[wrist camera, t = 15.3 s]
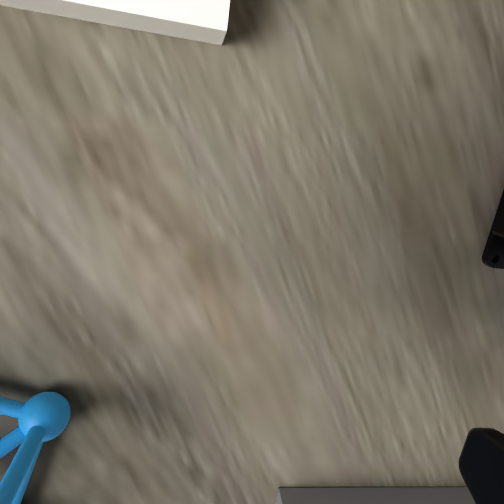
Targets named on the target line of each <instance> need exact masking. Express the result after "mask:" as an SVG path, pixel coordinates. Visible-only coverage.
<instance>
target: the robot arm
mask: <svg viewBox="0 0 504 504" xmlns="http://www.w3.org/2000/svg"><path fill="white" fill-rule="evenodd" d="M492 256H494V258H493V260H491V258H492ZM482 262H483V263H484V264H485V265H487V266H489V267H492V268H500V269H504V190H503V194H502V197H501V200H500V203H499V206H498V209H497V212H496V215H495V218H494V221H493V224H492V228H491V231H490V234H489V237H488V240H487V243H486V246H485V249H484V252H483V255H482ZM459 469H460V473H461V475H462V477H463V479H464V481H465V483H466V485H467V487H468V489H469V491H470V493H471V495H472V498H473V500H474V502H475V504H504V434H503V433H501V432H499V431H497V430H495V429H492V428H473V429H471V430H470V431H469V433H468V435H467V438H466V441H465V444H464V447H463V449H462V452H461V455H460V458H459Z"/></svg>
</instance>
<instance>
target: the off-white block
mask: <svg viewBox="0 0 504 504" xmlns="http://www.w3.org/2000/svg"><path fill="white" fill-rule="evenodd" d="M0 5H2V6H7V7H13V8H18V9H24V10H29V11H35V12H40V13H46V14H51V15H57V16H62V17H68V18H73V19H79V20H84V21H90V22H95V23H101V24H107V25H112V26H118V27H123V28H129V29H134V30H140V31H145V32H151V33H156V34H162V35H167V36H173V37H178V38H184V39H189V40H195V41H200V42H206V43H212V44H217V45H222V43H223V40H224V38H225V35H226V32H227V26H228V16H229V7H230V0H0Z"/></svg>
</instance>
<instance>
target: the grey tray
mask: <svg viewBox="0 0 504 504" xmlns="http://www.w3.org/2000/svg"><path fill="white" fill-rule="evenodd" d="M275 504H475V502H474V500H473V498H472V495H471V493H470V491H469V489H468V487H347V488H278V492H277V497H276V501H275Z"/></svg>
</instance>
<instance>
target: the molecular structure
mask: <svg viewBox="0 0 504 504" xmlns="http://www.w3.org/2000/svg"><path fill="white" fill-rule="evenodd" d="M0 414H2V415H6V416H10V417H14V418H18V425H19V427H17V428H16V429H14V430H13V431H12V432H10V433H9V434H7V435H6V436H5V437H3V438H2V439H1V440H0V459H1V458H2V457H4V456H5V455H6V454H8V453H9V452H10V451H12V450H13V449H14V448H16V447H17V446H18V445H20V444H21V443H22V444H21V446H20V448H19V449H18V451H17V453H16V455H15V457H14V459H13V460H12V462H11V464H10V466H9V468H8V470H7V472H6V473H5V475H4V477H3V479H2V481H1V483H0V504H20V503H21V501H22V498H23V495H24V493H25V490H26V487H27V485H28V482H29V479H30V477H31V474H32V472H33V469H34V466H35V464H36V461H37V458H38V456H39V453H40V450H41V448H42V445H43V442H46V441H49V440H52V439H54V438H55V437H57V436H58V435H60V434H61V433H62V432H63V431H64V430H65V428H66V427H67V425H68V423H69V420H70V415H71V409H70V405H69V403H68V401H67V400H66V398H64V397H63V396H62V395H60V394H58V393H56V392H42V393H39V394H36V395H35V396H33V397H31V398H30V399H29V400H28V401H27V402H26V403H23V402H19V401H15V400H11V399H7V398H3V397H0Z"/></svg>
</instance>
